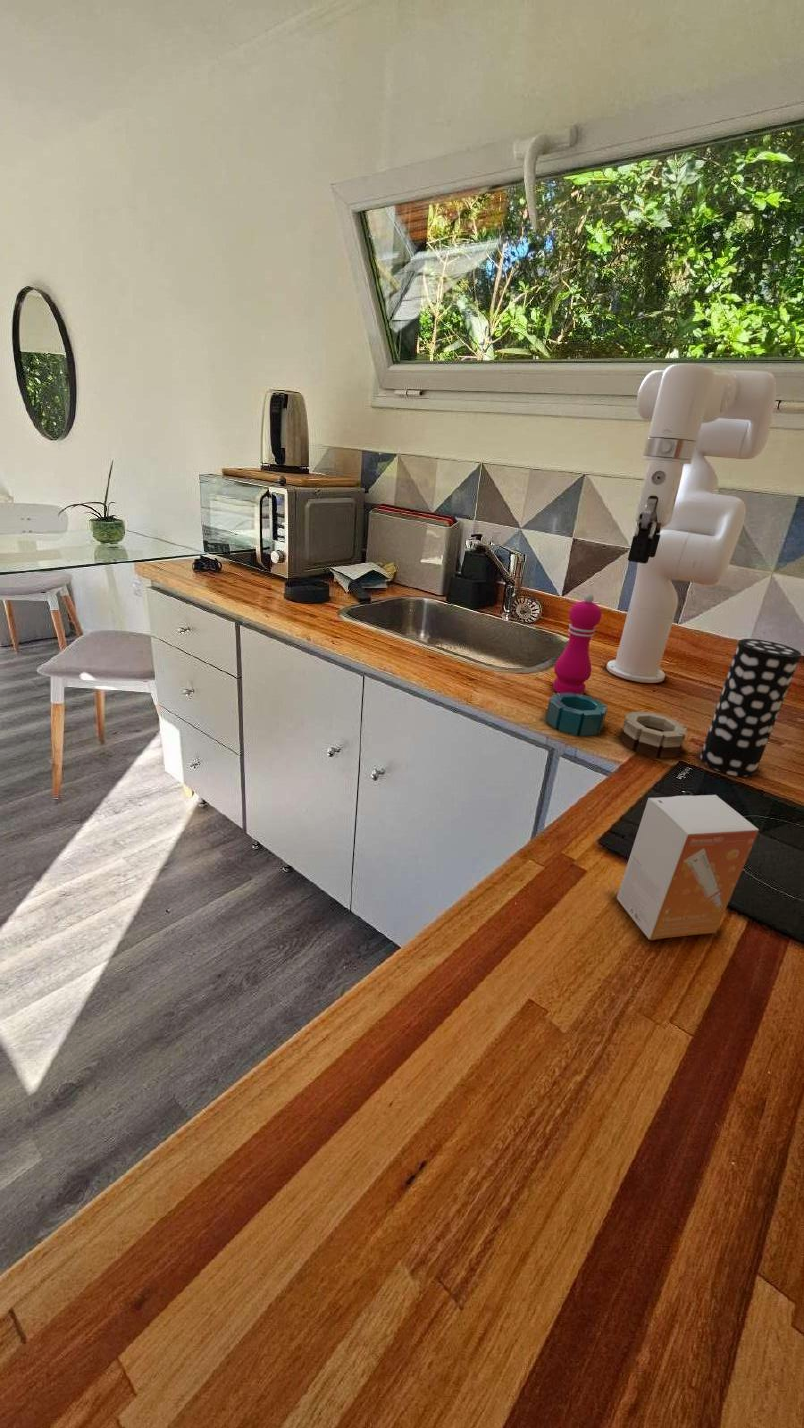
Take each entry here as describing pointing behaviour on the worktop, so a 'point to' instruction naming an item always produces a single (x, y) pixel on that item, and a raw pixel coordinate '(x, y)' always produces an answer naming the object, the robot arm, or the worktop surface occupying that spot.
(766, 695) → the spotted tube
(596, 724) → the teal ring
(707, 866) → the small box
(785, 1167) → the worktop surface
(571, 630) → the pepper mill
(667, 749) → the ring stack
